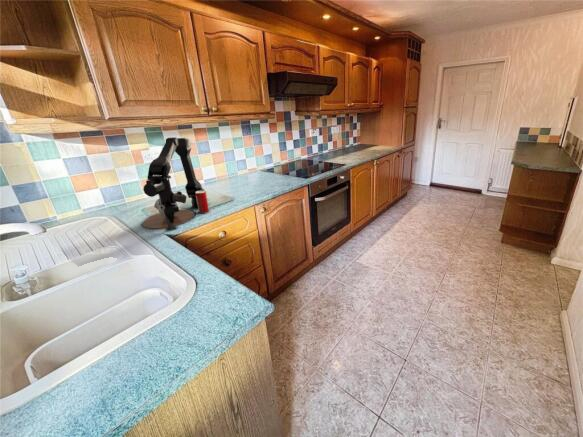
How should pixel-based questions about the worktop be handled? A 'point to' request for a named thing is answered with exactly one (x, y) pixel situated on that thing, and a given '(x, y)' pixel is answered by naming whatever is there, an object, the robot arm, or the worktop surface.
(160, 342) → the worktop surface
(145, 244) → the worktop surface
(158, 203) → the decorative toy
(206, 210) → the soda can
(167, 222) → the turntable
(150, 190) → the robot arm
